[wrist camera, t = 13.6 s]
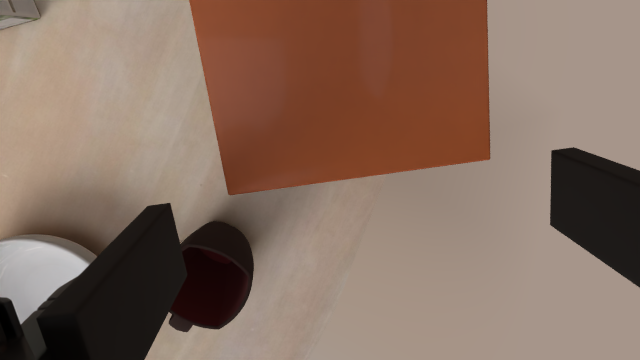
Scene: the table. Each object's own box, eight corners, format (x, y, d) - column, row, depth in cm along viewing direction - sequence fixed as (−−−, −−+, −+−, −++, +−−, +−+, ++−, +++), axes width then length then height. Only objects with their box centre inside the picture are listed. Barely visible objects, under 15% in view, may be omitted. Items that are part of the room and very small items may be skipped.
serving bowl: (168, 308, 63) (153, 338, 57) (53, 375, 66) (25, 412, 59) (70, 190, 58) (41, 208, 51) (-51, 268, 60) (-94, 295, 54)
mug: (271, 230, 61) (264, 273, 49) (223, 308, 64) (206, 365, 52) (206, 195, 59) (183, 231, 47) (160, 276, 62) (127, 329, 50)
